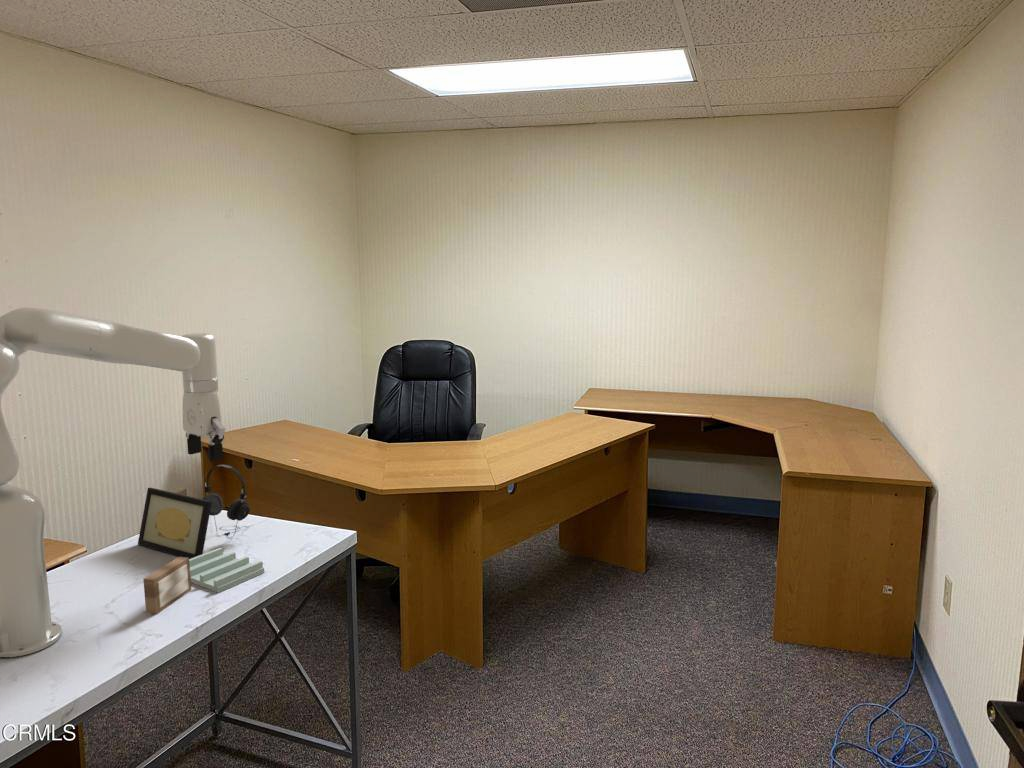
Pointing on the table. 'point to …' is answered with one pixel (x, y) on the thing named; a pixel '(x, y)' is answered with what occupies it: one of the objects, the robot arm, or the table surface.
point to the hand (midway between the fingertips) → (205, 456)
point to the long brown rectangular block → (167, 585)
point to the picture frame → (174, 523)
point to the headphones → (237, 508)
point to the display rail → (222, 570)
